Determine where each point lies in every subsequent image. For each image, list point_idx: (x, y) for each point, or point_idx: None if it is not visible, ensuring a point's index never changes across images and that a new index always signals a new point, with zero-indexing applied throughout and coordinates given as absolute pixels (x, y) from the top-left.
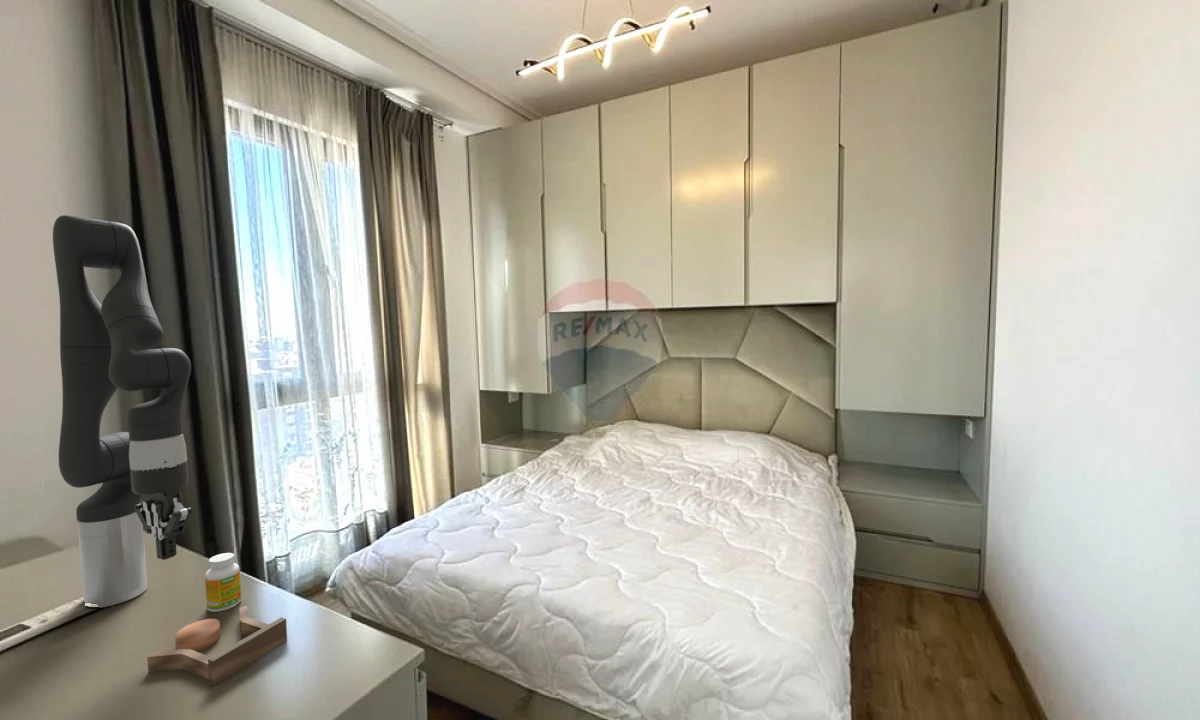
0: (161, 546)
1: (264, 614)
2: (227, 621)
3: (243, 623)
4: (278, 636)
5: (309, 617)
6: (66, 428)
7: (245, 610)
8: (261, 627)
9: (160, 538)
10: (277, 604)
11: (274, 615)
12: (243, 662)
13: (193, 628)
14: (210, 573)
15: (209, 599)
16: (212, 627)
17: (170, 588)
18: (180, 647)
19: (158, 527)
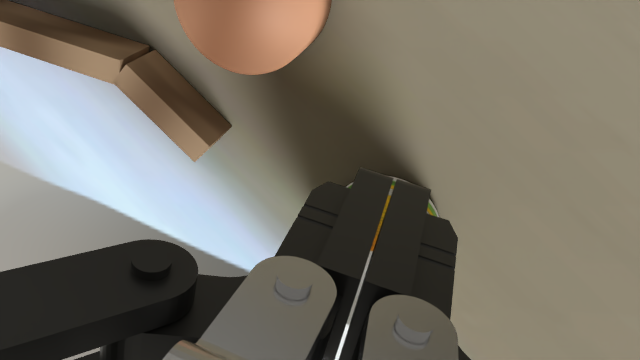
0: (335, 229)
1: (185, 165)
2: (275, 120)
3: (109, 54)
4: None
5: (33, 151)
6: None
7: (170, 130)
8: (13, 28)
9: (292, 270)
10: (195, 221)
11: (147, 160)
12: None
13: (267, 3)
14: (362, 278)
15: (388, 201)
16: (195, 16)
17: None
18: None
19: (181, 343)
